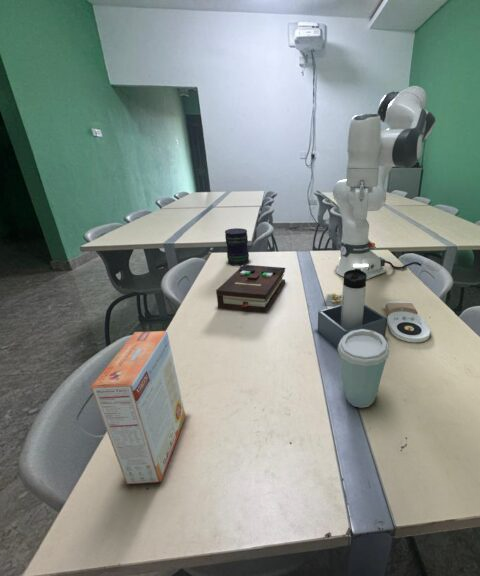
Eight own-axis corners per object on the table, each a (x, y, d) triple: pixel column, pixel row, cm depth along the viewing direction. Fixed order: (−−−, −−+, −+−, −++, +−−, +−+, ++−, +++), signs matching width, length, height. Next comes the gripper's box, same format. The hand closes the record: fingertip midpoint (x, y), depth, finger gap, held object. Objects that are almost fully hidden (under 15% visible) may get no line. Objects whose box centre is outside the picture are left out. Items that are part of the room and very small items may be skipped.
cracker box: (156, 418, 64) (134, 329, 55) (187, 417, 64) (169, 329, 56) (122, 486, 51) (87, 385, 42) (161, 484, 52) (134, 383, 43)
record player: (415, 301, 108) (437, 334, 90) (414, 309, 110) (435, 343, 91) (382, 301, 108) (396, 333, 90) (381, 309, 109) (395, 343, 91)
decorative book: (208, 290, 102) (242, 260, 129) (211, 311, 105) (244, 277, 132) (266, 295, 99) (289, 263, 126) (267, 316, 102) (289, 281, 130)
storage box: (355, 319, 103) (357, 299, 100) (384, 339, 92) (387, 318, 89) (317, 331, 95) (318, 310, 92) (344, 354, 85) (346, 332, 82)
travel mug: (363, 331, 96) (369, 270, 87) (358, 343, 90) (364, 278, 82) (343, 327, 98) (347, 267, 89) (337, 338, 92) (341, 275, 84)
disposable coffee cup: (371, 423, 64) (378, 363, 58) (325, 401, 69) (328, 344, 63) (389, 392, 72) (398, 336, 66) (348, 375, 77) (352, 322, 71)
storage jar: (238, 267, 143) (235, 234, 136) (223, 262, 147) (219, 231, 141) (253, 261, 150) (251, 230, 144) (239, 257, 155) (236, 227, 149)
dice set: (332, 297, 117) (332, 292, 116) (345, 299, 116) (346, 294, 115) (329, 303, 112) (329, 298, 111) (344, 305, 111) (344, 300, 111)
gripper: (375, 182, 78) (370, 237, 83) (372, 177, 97) (369, 222, 102) (349, 182, 79) (347, 237, 84) (351, 176, 97) (349, 221, 103)
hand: (359, 228), depth 93 cm, fingers open, 8 cm apart
